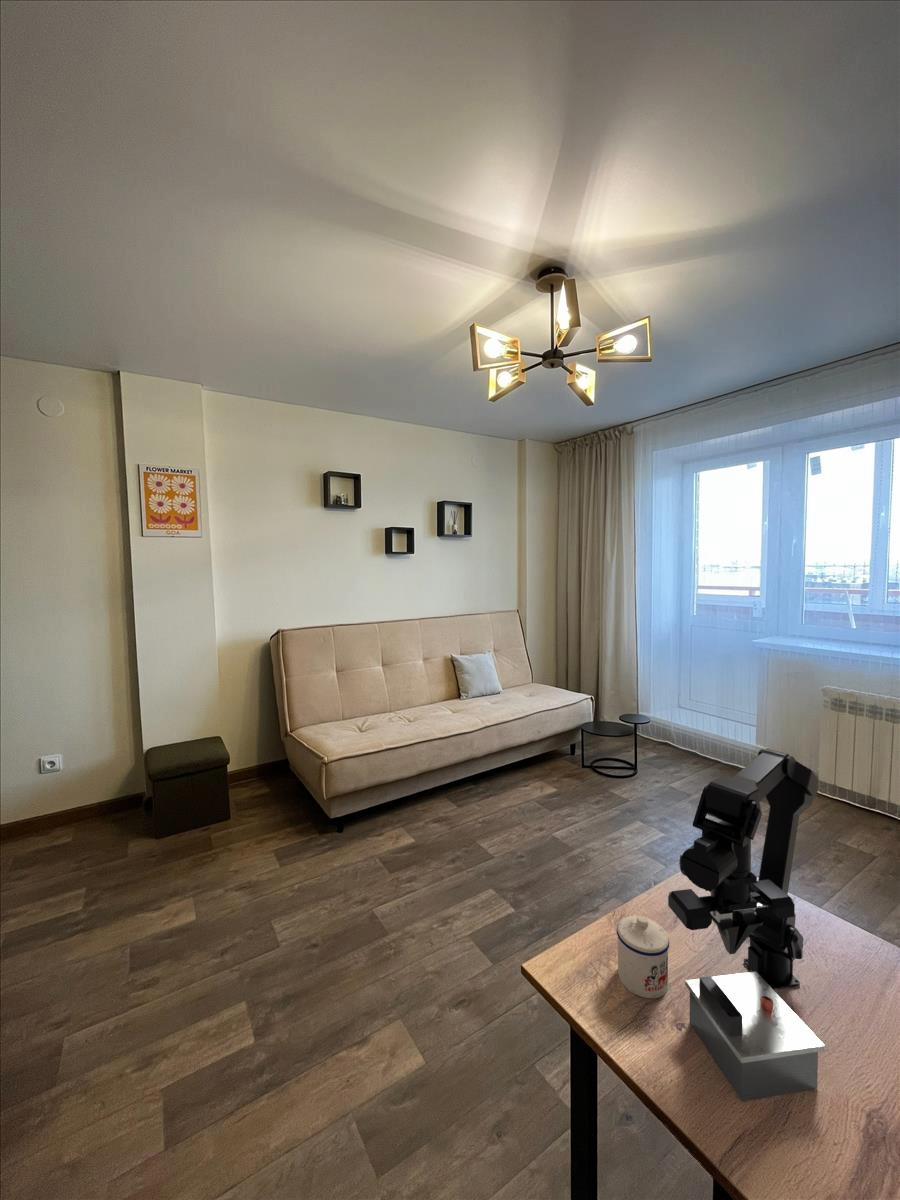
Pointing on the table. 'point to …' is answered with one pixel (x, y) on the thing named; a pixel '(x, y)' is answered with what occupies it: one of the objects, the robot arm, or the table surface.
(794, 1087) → the metal box
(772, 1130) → the table surface
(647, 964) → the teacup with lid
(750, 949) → the robot arm
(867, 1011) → the table surface
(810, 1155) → the table surface
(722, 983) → the box lid
